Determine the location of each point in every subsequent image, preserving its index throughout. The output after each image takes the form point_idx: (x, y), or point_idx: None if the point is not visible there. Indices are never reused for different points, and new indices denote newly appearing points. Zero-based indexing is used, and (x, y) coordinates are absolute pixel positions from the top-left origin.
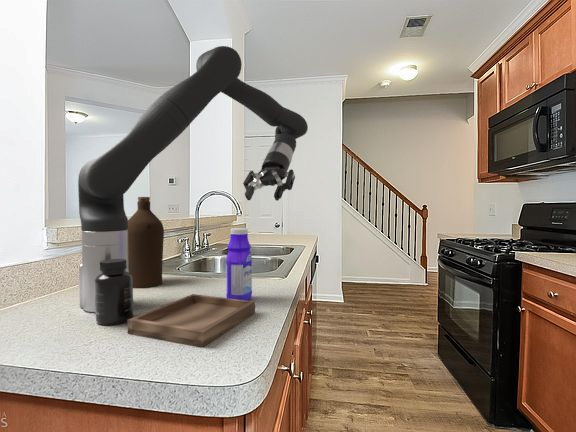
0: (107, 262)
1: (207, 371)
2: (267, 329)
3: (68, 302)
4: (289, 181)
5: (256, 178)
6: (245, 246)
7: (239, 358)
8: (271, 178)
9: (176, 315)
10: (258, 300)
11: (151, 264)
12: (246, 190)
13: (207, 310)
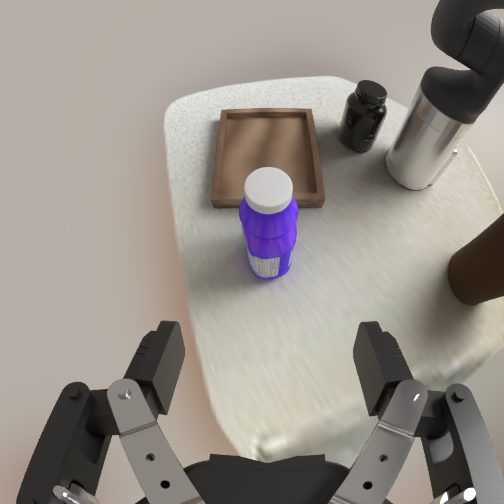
0: (365, 80)
1: (200, 100)
2: (180, 169)
3: (452, 170)
4: (61, 396)
5: (387, 439)
6: (243, 198)
7: (185, 118)
8: (221, 474)
9: (294, 150)
10: (236, 266)
11: (469, 252)
12: (404, 360)
13: None
